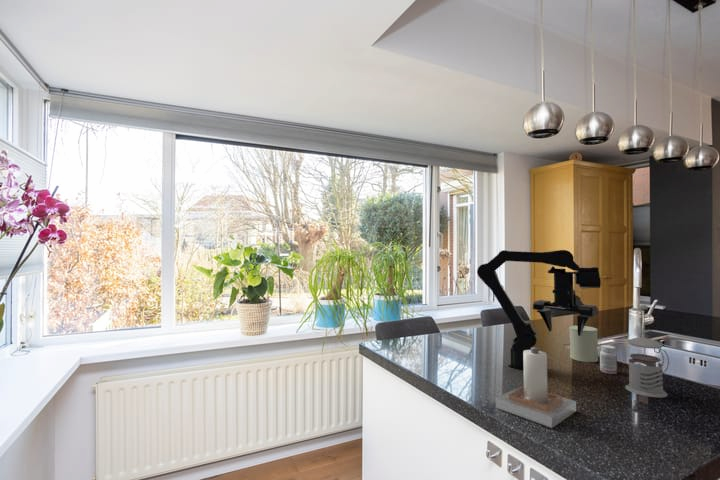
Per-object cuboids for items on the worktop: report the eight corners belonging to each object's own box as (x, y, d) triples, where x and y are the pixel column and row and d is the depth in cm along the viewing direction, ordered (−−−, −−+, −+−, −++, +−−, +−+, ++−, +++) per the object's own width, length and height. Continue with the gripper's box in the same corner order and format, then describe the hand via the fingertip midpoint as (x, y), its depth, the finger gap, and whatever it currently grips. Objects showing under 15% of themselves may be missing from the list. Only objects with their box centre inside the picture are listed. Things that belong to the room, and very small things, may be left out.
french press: (616, 385, 110) (614, 302, 111) (652, 383, 111) (650, 302, 112) (644, 398, 100) (642, 307, 101) (683, 396, 101) (680, 306, 102)
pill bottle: (620, 374, 119) (619, 348, 120) (604, 373, 120) (603, 348, 120) (613, 369, 124) (612, 345, 124) (597, 369, 125) (597, 344, 125)
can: (594, 356, 140) (593, 325, 140) (601, 363, 131) (601, 330, 131) (567, 354, 143) (566, 323, 143) (572, 360, 134) (572, 328, 134)
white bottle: (519, 396, 96) (518, 345, 96) (537, 394, 97) (537, 344, 97) (533, 404, 90) (532, 351, 91) (552, 403, 91) (551, 350, 92)
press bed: (496, 407, 94) (495, 394, 95) (522, 394, 103) (522, 381, 103) (551, 428, 84) (551, 412, 84) (576, 411, 92) (575, 397, 93)
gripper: (603, 287, 120) (604, 334, 120) (546, 283, 135) (546, 325, 134) (591, 289, 113) (592, 340, 113) (531, 285, 128) (532, 330, 127)
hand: (564, 333), depth 122 cm, fingers open, 9 cm apart
